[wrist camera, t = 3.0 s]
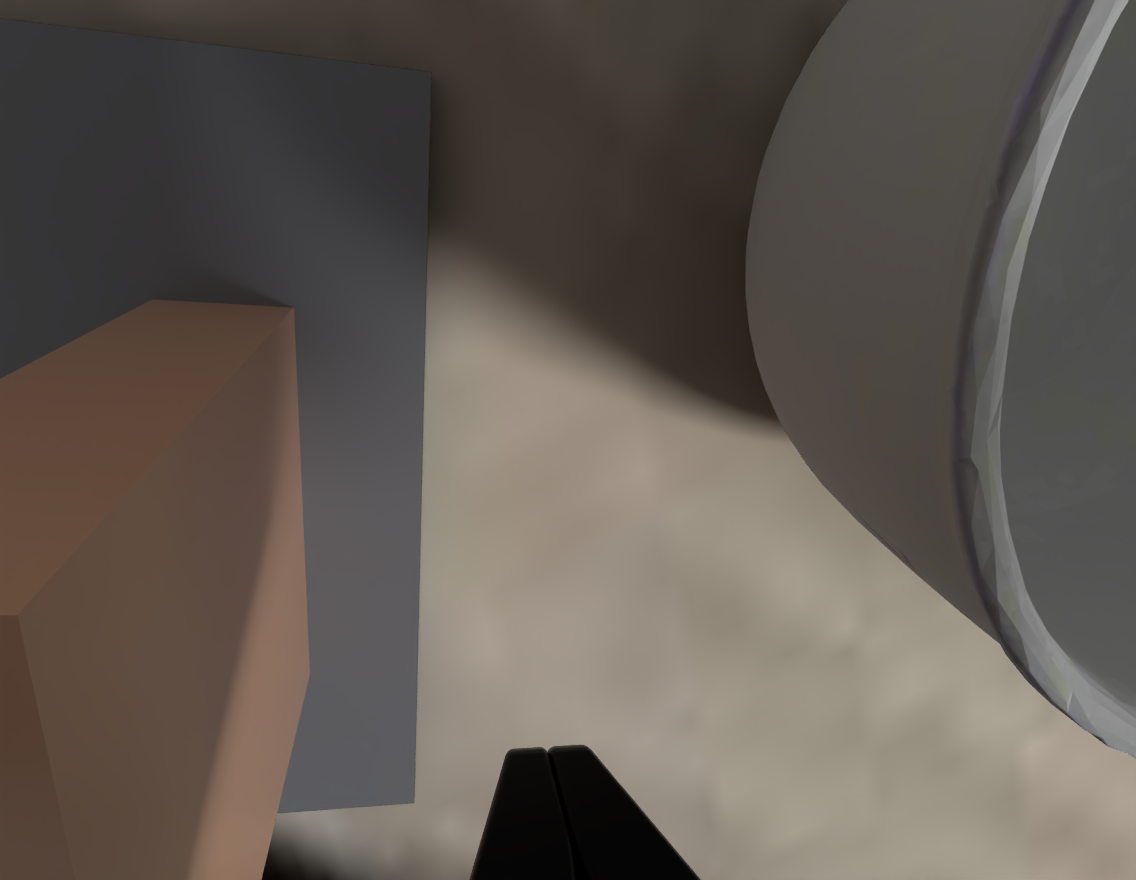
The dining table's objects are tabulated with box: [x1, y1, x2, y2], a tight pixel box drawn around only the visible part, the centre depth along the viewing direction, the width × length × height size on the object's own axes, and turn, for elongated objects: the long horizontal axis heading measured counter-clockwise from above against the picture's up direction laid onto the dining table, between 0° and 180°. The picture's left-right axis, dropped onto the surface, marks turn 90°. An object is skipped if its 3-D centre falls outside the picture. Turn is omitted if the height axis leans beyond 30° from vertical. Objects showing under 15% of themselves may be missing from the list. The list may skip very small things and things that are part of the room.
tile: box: [0, 299, 310, 880], centre depth 8 cm, size 2×7×8 cm, turn 174°
